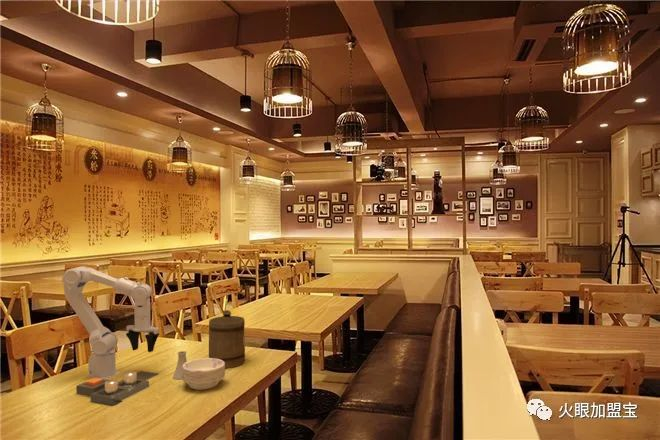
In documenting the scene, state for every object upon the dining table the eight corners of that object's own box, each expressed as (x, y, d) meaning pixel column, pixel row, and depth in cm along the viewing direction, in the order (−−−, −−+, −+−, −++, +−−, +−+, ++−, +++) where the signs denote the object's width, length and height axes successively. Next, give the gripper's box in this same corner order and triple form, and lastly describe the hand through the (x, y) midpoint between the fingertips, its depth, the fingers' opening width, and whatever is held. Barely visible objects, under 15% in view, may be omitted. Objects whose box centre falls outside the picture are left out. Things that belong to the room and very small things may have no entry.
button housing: (76, 394, 157) (76, 385, 157) (95, 385, 165) (95, 377, 165) (93, 397, 155) (93, 388, 155) (112, 388, 162) (112, 380, 162)
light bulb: (102, 400, 152) (102, 382, 152) (111, 396, 156) (111, 378, 156) (111, 402, 150) (111, 384, 150) (120, 397, 154) (120, 380, 154)
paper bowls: (233, 381, 169) (233, 360, 169) (206, 396, 155) (206, 373, 155) (201, 375, 175) (201, 354, 175) (172, 389, 161) (172, 367, 161)
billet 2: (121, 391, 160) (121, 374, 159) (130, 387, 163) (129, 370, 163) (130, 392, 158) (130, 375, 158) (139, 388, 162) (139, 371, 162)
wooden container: (252, 360, 192) (251, 309, 191) (226, 371, 179) (226, 316, 179) (227, 355, 200) (226, 305, 199) (201, 364, 187) (200, 312, 187)
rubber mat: (123, 380, 170) (123, 378, 170) (141, 372, 178) (141, 371, 178) (142, 383, 167) (142, 381, 167) (159, 375, 175) (159, 373, 175)
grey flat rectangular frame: (90, 401, 151) (90, 394, 151) (127, 384, 166) (127, 377, 166) (113, 405, 148) (113, 398, 148) (149, 387, 163) (149, 381, 162)
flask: (186, 382, 168) (185, 355, 168) (168, 381, 169) (168, 354, 169) (195, 375, 175) (195, 349, 175) (178, 374, 176) (178, 348, 176)
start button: (86, 390, 159) (85, 381, 159) (95, 386, 162) (95, 377, 162) (94, 391, 157) (94, 382, 157) (103, 387, 161) (103, 379, 161)
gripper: (120, 316, 175) (120, 351, 175) (149, 319, 169) (150, 355, 170) (133, 312, 181) (134, 346, 181) (162, 315, 176) (163, 350, 176)
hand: (143, 350), depth 176 cm, fingers open, 7 cm apart
